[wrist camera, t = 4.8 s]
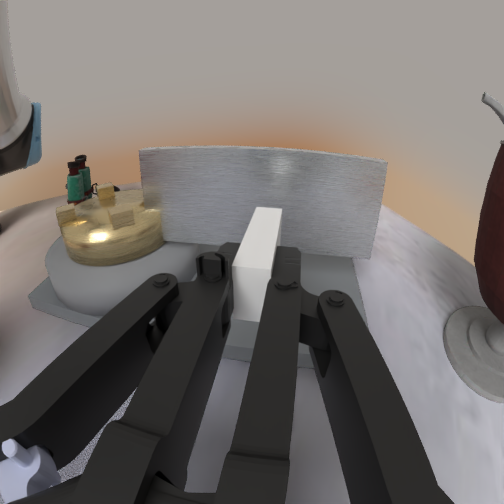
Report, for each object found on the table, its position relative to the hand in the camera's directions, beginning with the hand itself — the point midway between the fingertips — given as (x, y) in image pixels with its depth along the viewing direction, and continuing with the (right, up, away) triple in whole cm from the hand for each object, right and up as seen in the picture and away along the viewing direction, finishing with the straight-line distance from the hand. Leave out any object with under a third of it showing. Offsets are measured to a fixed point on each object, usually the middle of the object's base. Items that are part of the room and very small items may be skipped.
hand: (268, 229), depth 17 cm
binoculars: (-28, +5, +27) cm, 39 cm away
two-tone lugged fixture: (-5, -1, +8) cm, 9 cm away
